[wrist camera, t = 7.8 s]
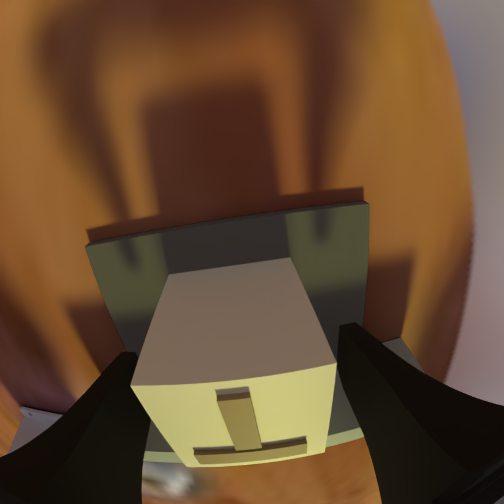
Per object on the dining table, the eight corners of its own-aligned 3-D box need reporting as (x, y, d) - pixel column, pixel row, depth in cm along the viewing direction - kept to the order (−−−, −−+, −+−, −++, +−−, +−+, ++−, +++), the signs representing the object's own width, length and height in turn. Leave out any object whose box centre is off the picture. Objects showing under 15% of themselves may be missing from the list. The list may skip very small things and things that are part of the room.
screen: (111, 390, 15) (91, 453, 10) (103, 377, 15) (79, 442, 10) (397, 351, 15) (433, 410, 11) (400, 337, 15) (441, 397, 10)
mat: (143, 373, 14) (141, 379, 14) (89, 242, 11) (84, 246, 11) (356, 344, 15) (359, 350, 14) (364, 200, 11) (369, 203, 11)
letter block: (195, 361, 14) (186, 471, 8) (169, 274, 12) (128, 391, 6) (295, 348, 14) (325, 456, 8) (289, 257, 12) (339, 368, 6)
